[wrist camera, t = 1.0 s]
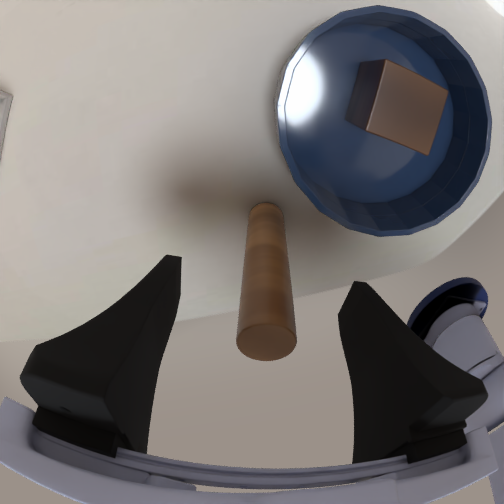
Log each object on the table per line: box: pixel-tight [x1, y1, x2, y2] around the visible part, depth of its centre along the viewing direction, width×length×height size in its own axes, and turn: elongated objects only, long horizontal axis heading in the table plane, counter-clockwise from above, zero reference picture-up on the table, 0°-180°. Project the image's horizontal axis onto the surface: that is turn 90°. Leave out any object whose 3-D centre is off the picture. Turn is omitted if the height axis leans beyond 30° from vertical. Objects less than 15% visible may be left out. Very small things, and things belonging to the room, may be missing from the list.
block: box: [345, 59, 448, 156], centre depth 13 cm, size 4×4×4 cm
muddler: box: [236, 203, 297, 361], centre depth 16 cm, size 2×2×11 cm
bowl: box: [274, 5, 492, 237], centre depth 14 cm, size 13×13×4 cm
